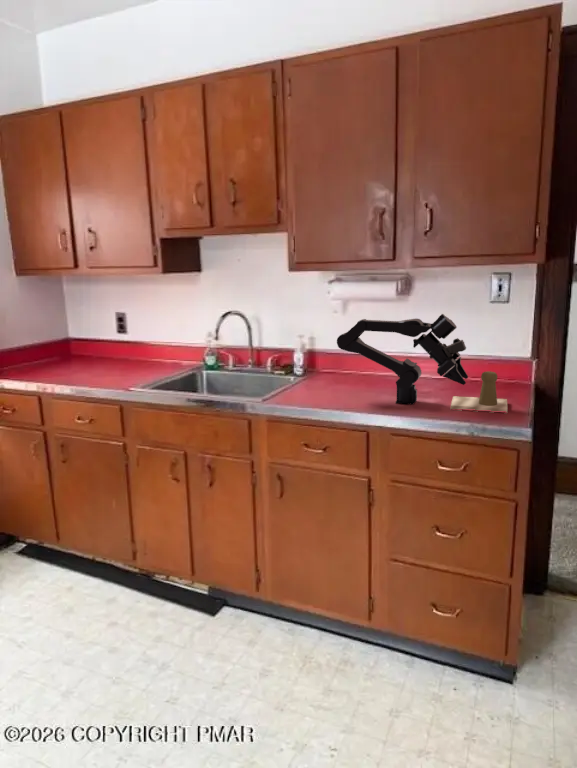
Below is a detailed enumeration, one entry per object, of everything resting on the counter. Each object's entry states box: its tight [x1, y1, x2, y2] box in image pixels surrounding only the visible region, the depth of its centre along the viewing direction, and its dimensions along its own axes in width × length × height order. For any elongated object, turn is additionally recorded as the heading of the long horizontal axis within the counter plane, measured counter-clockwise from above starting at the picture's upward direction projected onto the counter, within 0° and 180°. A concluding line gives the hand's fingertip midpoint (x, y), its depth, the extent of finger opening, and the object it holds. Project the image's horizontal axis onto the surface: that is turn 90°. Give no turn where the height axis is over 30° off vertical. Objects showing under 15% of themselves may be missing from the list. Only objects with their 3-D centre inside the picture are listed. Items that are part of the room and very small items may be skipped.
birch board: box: [450, 395, 508, 413], centre depth 195 cm, size 18×13×2 cm
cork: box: [479, 371, 498, 406], centre depth 192 cm, size 6×6×11 cm
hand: (466, 381), depth 194 cm, fingers open, 9 cm apart
